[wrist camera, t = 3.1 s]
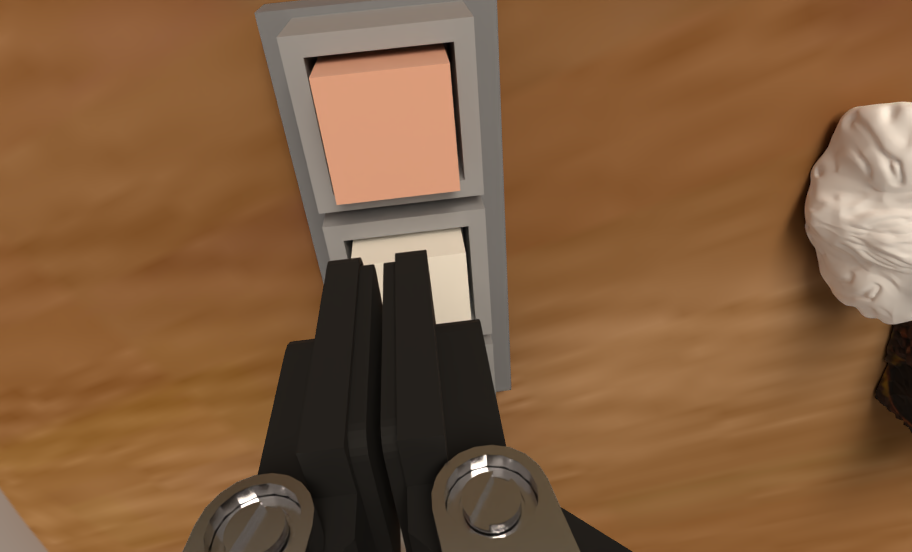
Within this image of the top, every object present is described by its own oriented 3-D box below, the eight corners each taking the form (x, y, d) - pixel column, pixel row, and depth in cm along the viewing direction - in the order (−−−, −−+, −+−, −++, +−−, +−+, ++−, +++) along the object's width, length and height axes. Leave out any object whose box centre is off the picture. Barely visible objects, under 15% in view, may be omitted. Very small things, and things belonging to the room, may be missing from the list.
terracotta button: (452, 157, 23) (460, 190, 20) (342, 170, 23) (336, 205, 20) (442, 41, 21) (449, 62, 18) (319, 55, 20) (308, 77, 18)
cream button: (465, 298, 27) (473, 340, 24) (371, 309, 27) (369, 353, 24) (457, 215, 24) (465, 252, 22) (354, 227, 24) (350, 266, 22)
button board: (505, 366, 35) (522, 437, 30) (357, 384, 35) (352, 459, 30) (488, -19, 23) (513, 2, 19) (264, 4, 23) (232, 31, 18)
